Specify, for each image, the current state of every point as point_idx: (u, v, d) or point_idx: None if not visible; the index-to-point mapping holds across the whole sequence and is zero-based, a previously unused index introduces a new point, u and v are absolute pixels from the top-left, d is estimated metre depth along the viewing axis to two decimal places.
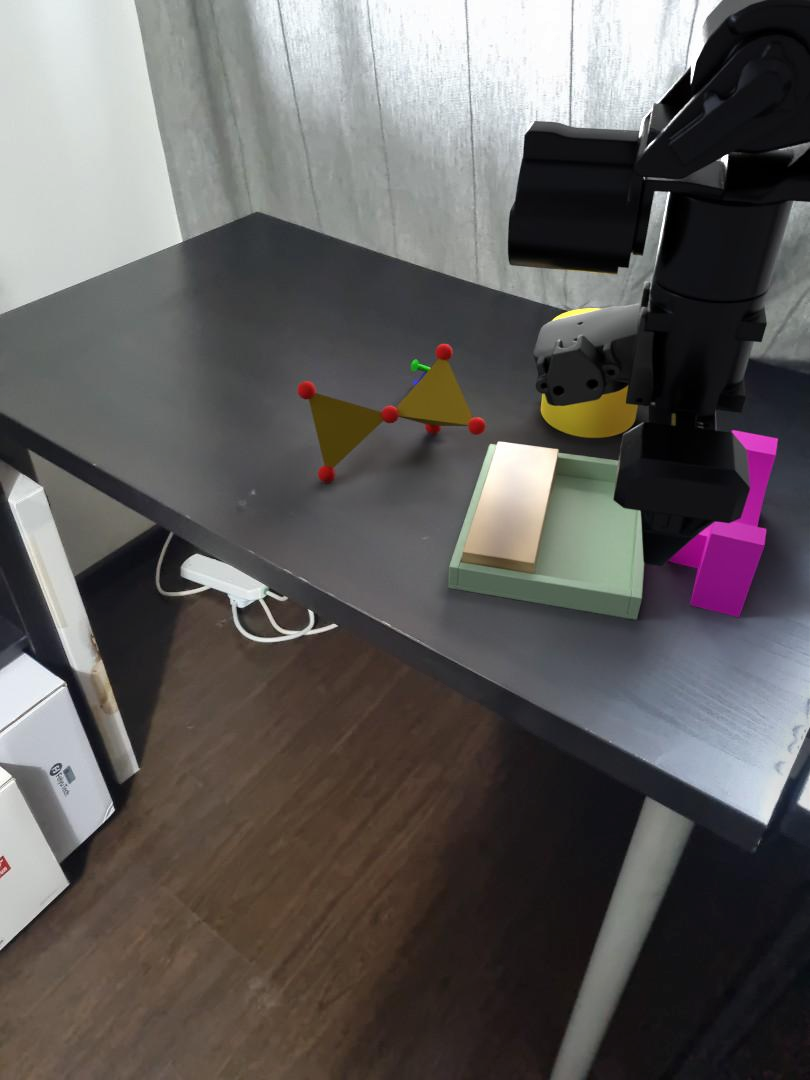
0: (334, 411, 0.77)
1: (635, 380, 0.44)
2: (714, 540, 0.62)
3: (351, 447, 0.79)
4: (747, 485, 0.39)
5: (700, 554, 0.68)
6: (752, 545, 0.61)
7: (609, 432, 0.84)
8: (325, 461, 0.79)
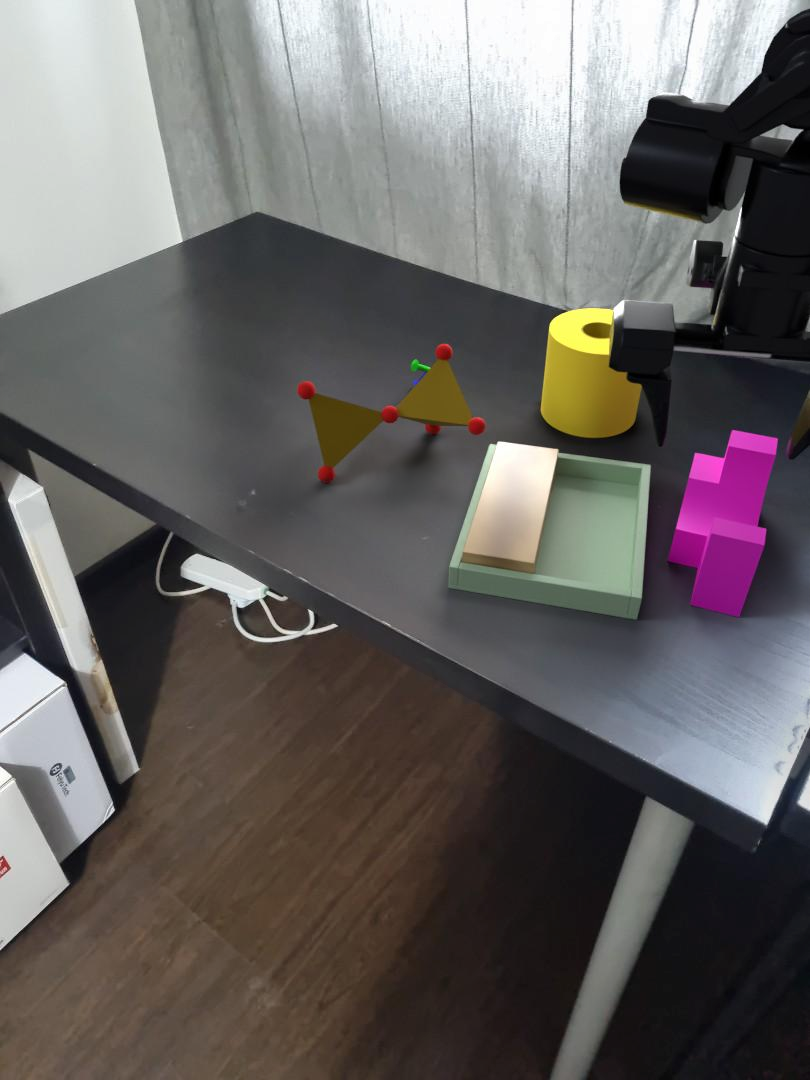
0: (334, 411, 0.77)
1: (713, 289, 0.56)
2: (714, 540, 0.62)
3: (351, 447, 0.79)
4: (621, 343, 0.54)
5: (700, 554, 0.68)
6: (752, 545, 0.61)
7: (609, 432, 0.84)
8: (324, 461, 0.79)
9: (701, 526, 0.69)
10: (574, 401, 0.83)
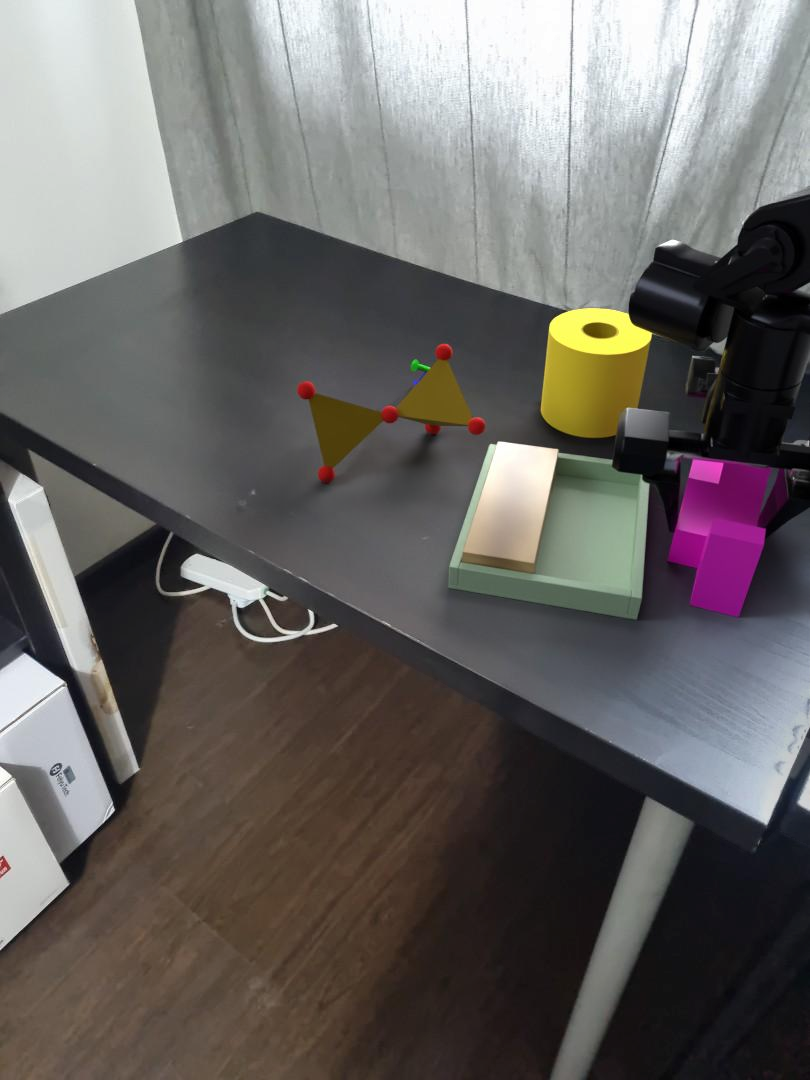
0: (334, 411, 0.77)
1: (705, 402, 0.66)
2: (713, 540, 0.62)
3: (351, 447, 0.79)
4: (622, 450, 0.64)
5: (700, 554, 0.68)
6: (751, 545, 0.61)
7: (609, 432, 0.84)
8: (324, 461, 0.79)
9: (700, 526, 0.69)
10: (574, 401, 0.83)
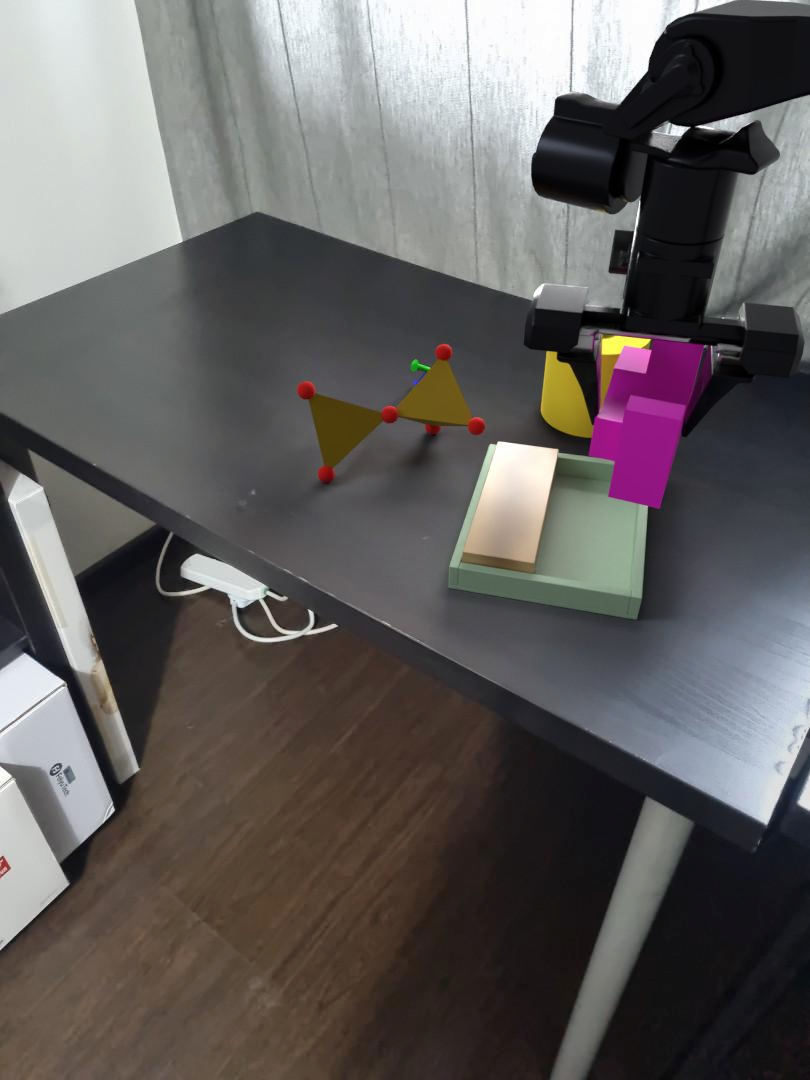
0: (334, 411, 0.77)
1: None
2: (628, 417, 0.56)
3: (351, 447, 0.79)
4: (532, 323, 0.58)
5: None
6: (669, 421, 0.55)
7: None
8: (324, 461, 0.79)
9: (623, 416, 0.64)
10: (574, 401, 0.83)
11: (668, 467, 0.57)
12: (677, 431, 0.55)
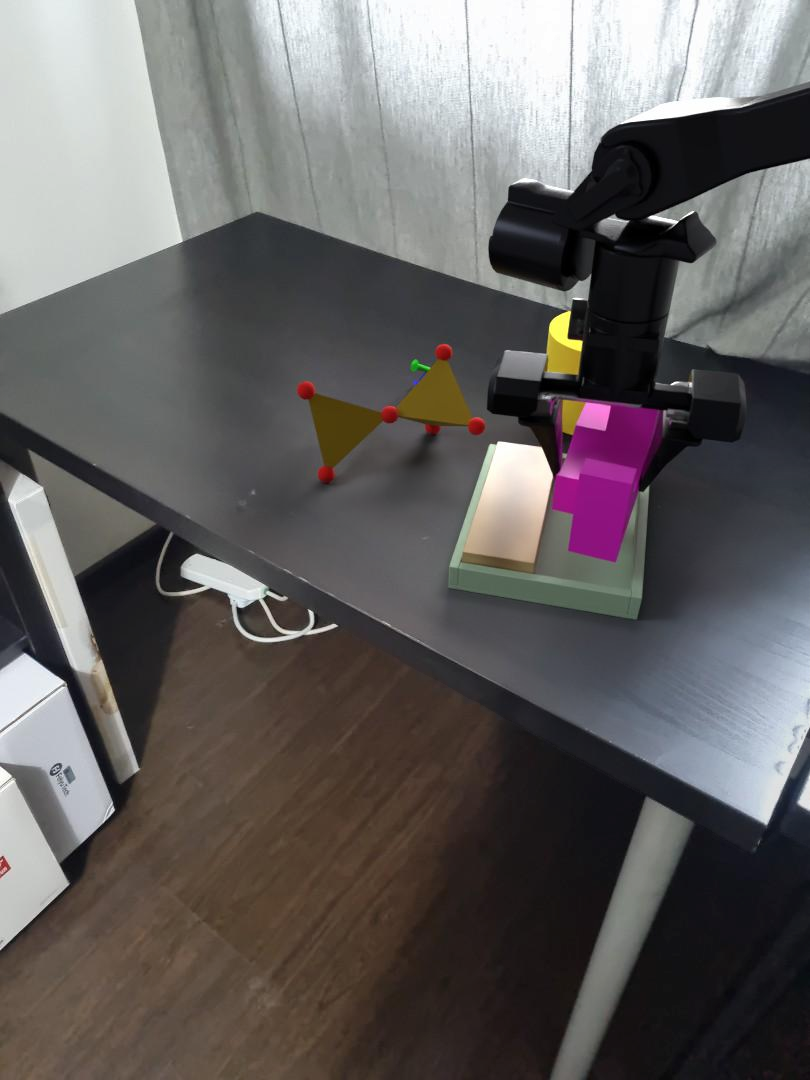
0: (334, 411, 0.77)
1: None
2: (583, 480, 0.60)
3: (351, 447, 0.79)
4: (494, 390, 0.62)
5: None
6: (620, 485, 0.59)
7: None
8: (324, 461, 0.79)
9: None
10: (574, 401, 0.83)
11: (622, 525, 0.61)
12: (628, 493, 0.59)
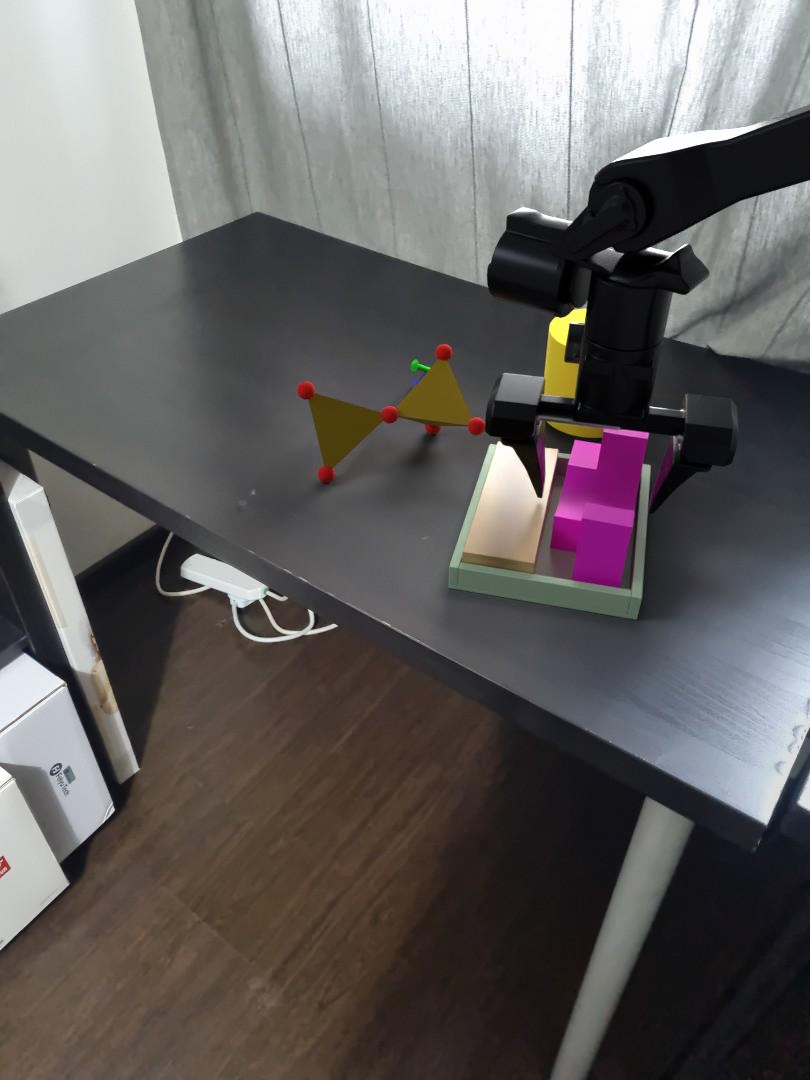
0: (334, 411, 0.77)
1: None
2: (585, 524, 0.63)
3: (351, 447, 0.79)
4: (492, 413, 0.64)
5: None
6: (621, 528, 0.62)
7: None
8: (324, 461, 0.79)
9: (579, 512, 0.70)
10: None
11: (622, 565, 0.64)
12: (629, 536, 0.62)
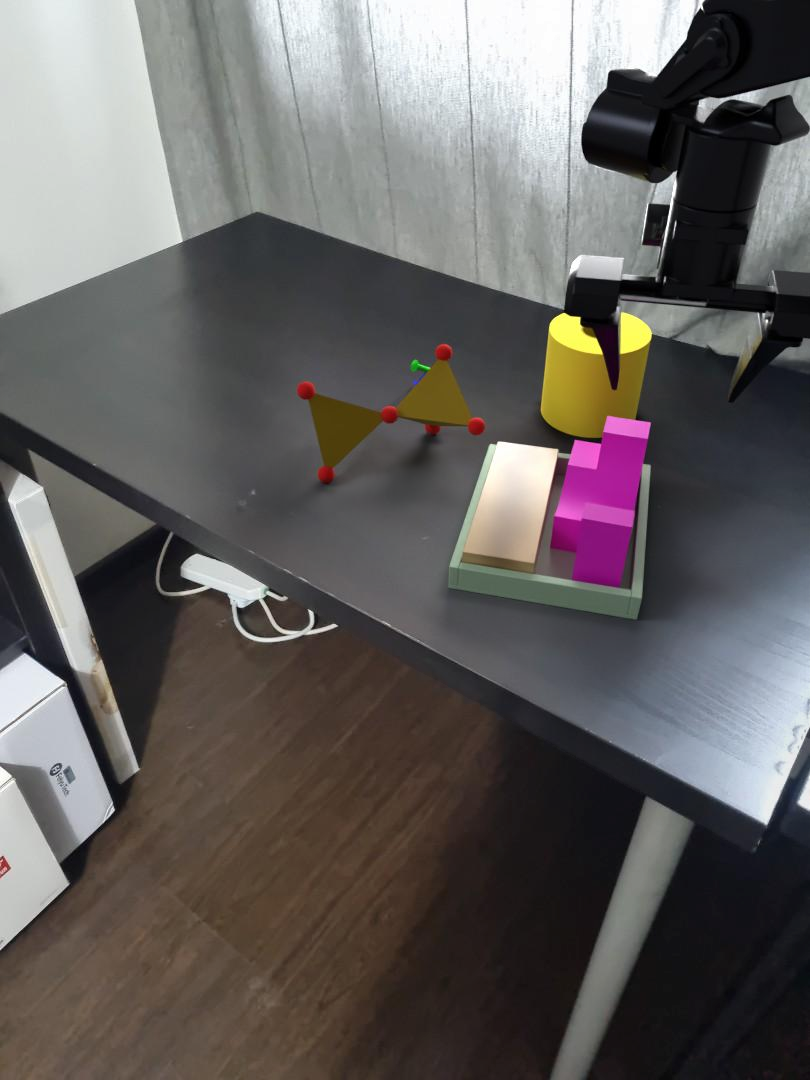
0: (334, 411, 0.77)
1: (660, 246, 0.64)
2: (585, 524, 0.63)
3: (351, 447, 0.79)
4: (573, 290, 0.62)
5: None
6: (621, 528, 0.62)
7: None
8: (324, 461, 0.79)
9: (579, 512, 0.70)
10: (574, 401, 0.83)
11: (622, 565, 0.64)
12: (629, 536, 0.62)
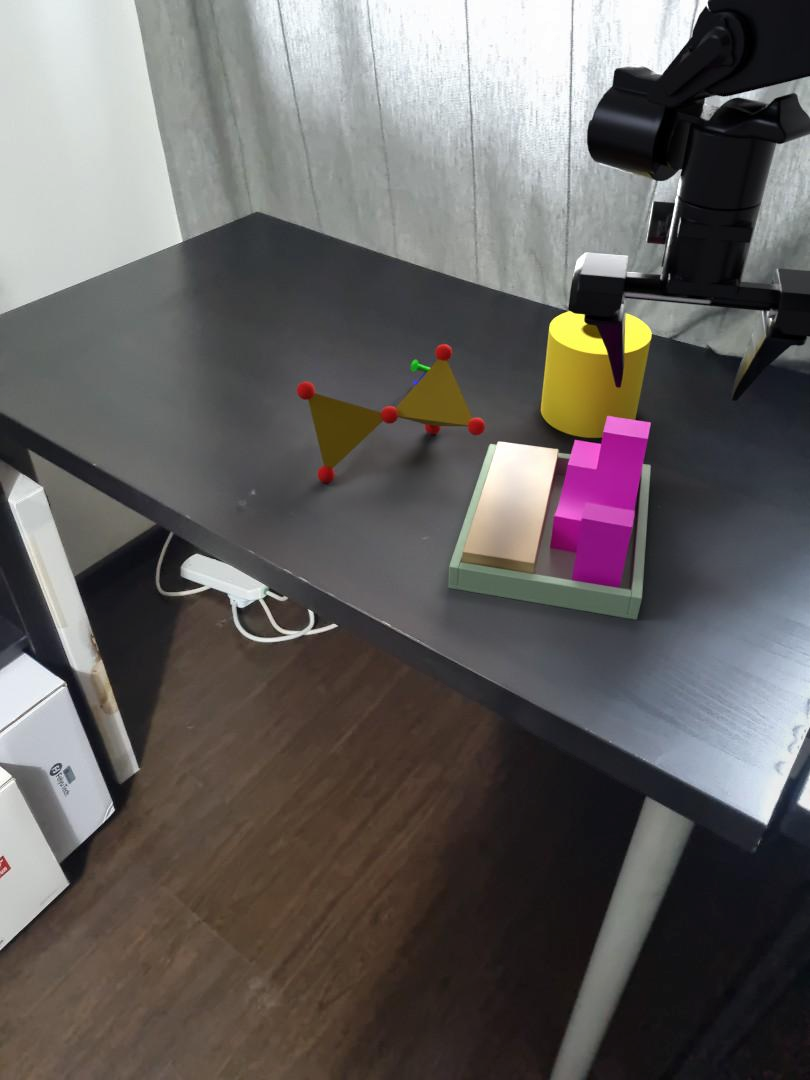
0: (334, 411, 0.77)
1: None
2: (585, 524, 0.63)
3: (351, 447, 0.79)
4: (578, 288, 0.62)
5: None
6: (621, 528, 0.62)
7: None
8: (324, 461, 0.79)
9: (579, 512, 0.70)
10: (574, 401, 0.83)
11: (622, 565, 0.64)
12: (629, 536, 0.62)
